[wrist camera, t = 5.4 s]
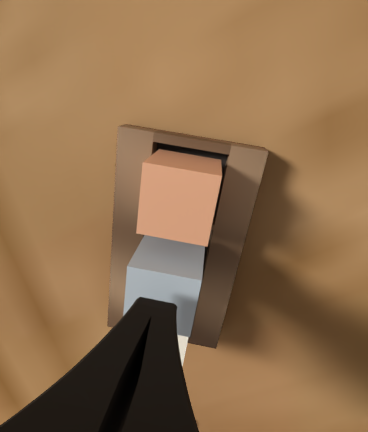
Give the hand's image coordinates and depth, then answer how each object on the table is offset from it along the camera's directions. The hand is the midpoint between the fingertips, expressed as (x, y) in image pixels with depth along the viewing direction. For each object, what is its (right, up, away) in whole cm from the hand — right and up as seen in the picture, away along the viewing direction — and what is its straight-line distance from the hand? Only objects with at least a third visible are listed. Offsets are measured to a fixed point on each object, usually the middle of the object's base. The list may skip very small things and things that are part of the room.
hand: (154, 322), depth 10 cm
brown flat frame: (+1, +2, +6) cm, 6 cm away
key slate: (0, +1, +4) cm, 4 cm away
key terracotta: (+1, +5, +3) cm, 6 cm away
